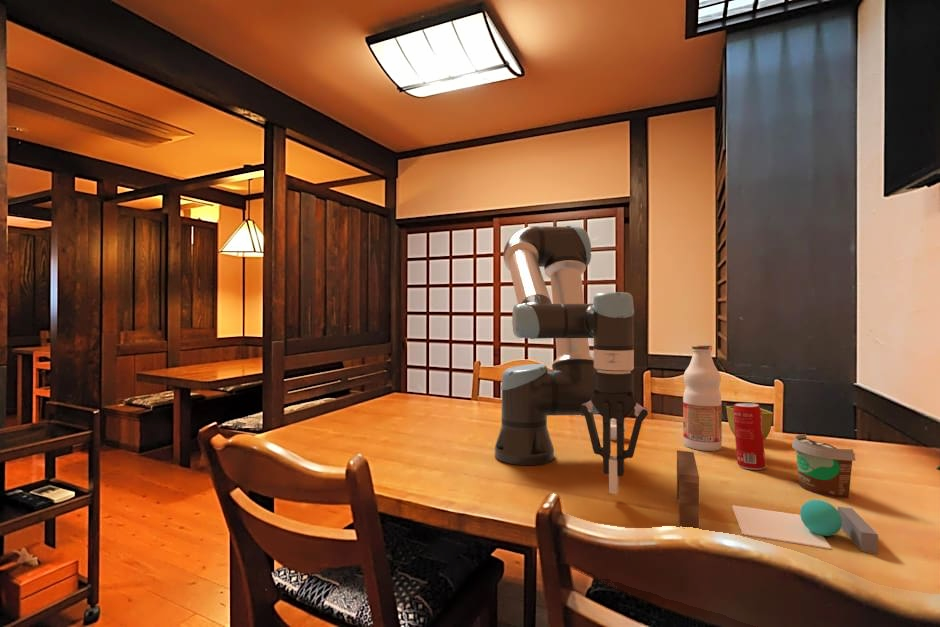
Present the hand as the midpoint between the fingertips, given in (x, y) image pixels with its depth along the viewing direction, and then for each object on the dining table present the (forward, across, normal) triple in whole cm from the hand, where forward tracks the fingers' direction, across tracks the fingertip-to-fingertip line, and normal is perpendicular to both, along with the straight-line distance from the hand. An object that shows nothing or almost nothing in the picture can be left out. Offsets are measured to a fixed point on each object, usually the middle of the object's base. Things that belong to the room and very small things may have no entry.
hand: (613, 491), depth 89 cm
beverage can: (+2, +28, +33) cm, 43 cm away
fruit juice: (+2, +19, +47) cm, 51 cm away
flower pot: (+2, +32, +59) cm, 67 cm away
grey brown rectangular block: (+2, +13, 0) cm, 13 cm away
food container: (+2, +38, +22) cm, 44 cm away
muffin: (+2, -4, +46) cm, 46 cm away
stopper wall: (+2, +38, 0) cm, 38 cm away
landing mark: (+2, +27, 0) cm, 27 cm away
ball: (-1, +33, -1) cm, 33 cm away
